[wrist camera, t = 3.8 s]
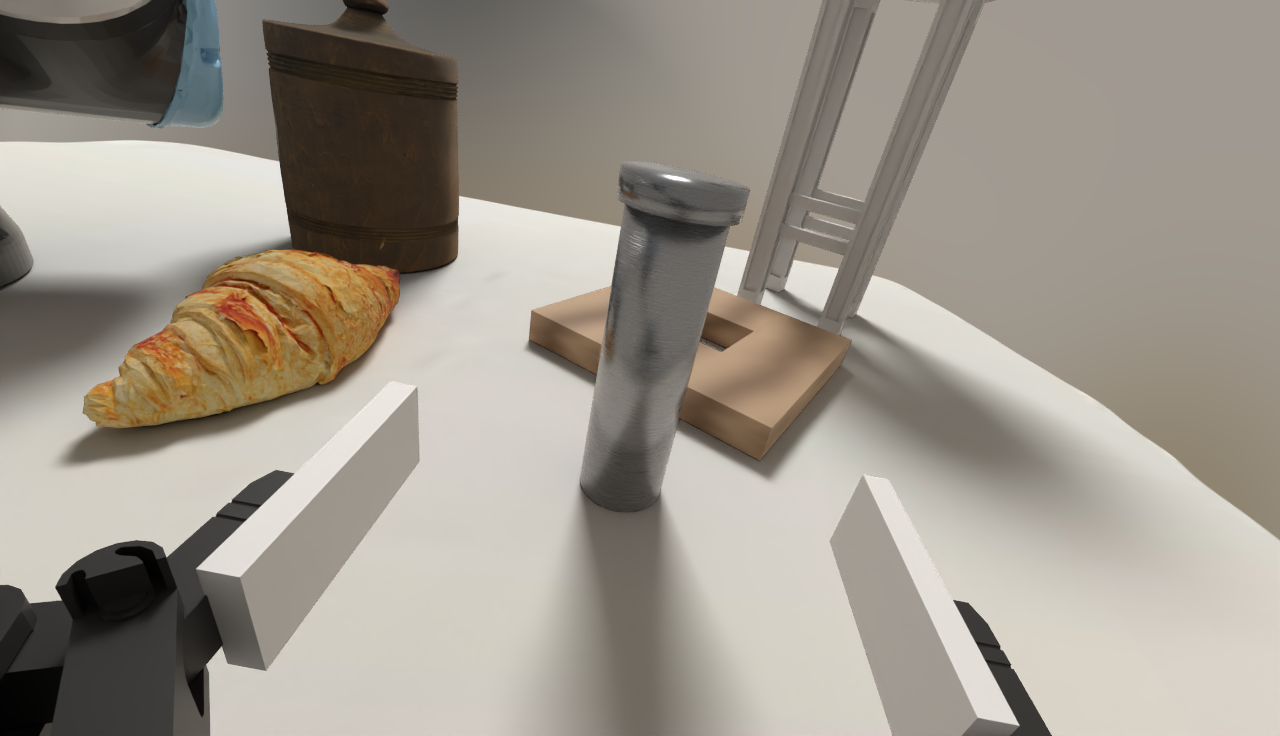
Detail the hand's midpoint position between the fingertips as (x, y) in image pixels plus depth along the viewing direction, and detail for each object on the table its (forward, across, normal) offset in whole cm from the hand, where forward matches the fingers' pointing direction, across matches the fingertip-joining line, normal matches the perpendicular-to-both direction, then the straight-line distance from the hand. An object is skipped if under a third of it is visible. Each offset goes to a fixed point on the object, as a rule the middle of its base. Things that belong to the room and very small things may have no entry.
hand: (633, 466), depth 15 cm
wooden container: (+37, -28, -9) cm, 47 cm away
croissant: (+16, -23, -10) cm, 29 cm away
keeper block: (+28, +5, -9) cm, 29 cm away
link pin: (+10, 0, -9) cm, 13 cm away
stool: (+45, +17, -9) cm, 49 cm away
